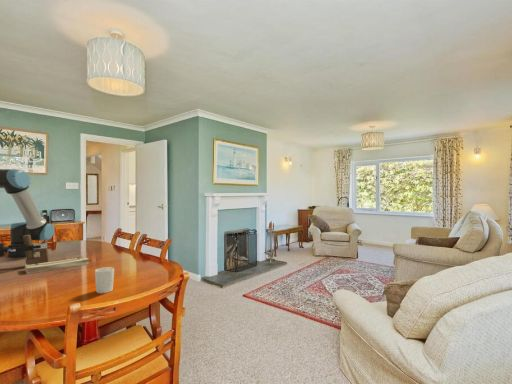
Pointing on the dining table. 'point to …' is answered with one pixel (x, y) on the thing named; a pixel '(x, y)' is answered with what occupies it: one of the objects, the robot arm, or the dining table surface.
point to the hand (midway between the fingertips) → (46, 245)
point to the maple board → (56, 265)
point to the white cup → (104, 279)
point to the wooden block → (29, 254)
